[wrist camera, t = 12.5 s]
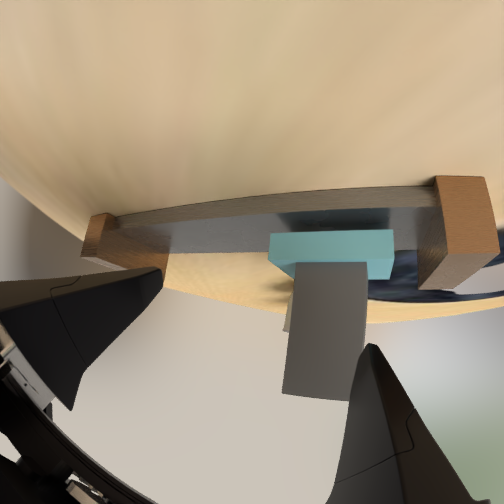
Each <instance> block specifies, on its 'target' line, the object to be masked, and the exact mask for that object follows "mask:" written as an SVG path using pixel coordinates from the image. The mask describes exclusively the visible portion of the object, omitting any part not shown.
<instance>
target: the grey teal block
mask: <svg viewBox="0 0 504 504" xmlns="http://www.w3.org/2000/svg"><path fill="white" fill-rule="evenodd" d="M268 260H269V261H270V262H272V263H273V264H274V265H276V266H277V267H278V268H280V269H281V270H282V271H284V272H285V273H286V274H288V275H289V276H290V277H292V278H293V279H294V290H293V301H292V311H291V320H290V330H289V339H288V348H287V356H286V364H285V371H284V379H283V386H282V393H283V394H289V395H296V396H303V397H311V398H319V399H329V400H340V401H349V399H350V392H351V387H352V383H353V379H354V375H355V370H356V366H357V362H358V359H359V356H360V354H361V353H362V351H363V350H364V340H365V328H366V316H367V297H368V279H389V278H390V274H391V270H392V266H393V262H394V238H393V229H388V230H349V231H318V232H292V233H271V236H270V246H269V255H268Z"/></svg>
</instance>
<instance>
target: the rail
mask: <svg viewBox="0 0 504 504" xmlns="http://www.w3.org/2000/svg"><path fill="white" fill-rule="evenodd" d="M388 229H393V238H394V250H417V262H418V290H423V289H453V288H454V287H456V286H457V285H459V284H460V283H462V282H463V281H465V280H466V279H467V278H469V277H470V276H471V275H473V274H474V273H475V272H477V271H478V270H479V269H481V268H482V267H483V266H485V265H486V264H487V263H488V262H490V261H491V260H492V259H493V258H495V257H496V256H497V255H498V254H499V253H500V248H499V241H498V235H497V229H496V224H495V219H494V214H493V209H492V205H491V201H490V197H489V193H488V189H487V185H486V182H485V178H484V177H462V176H436V177H435V181H434V185H433V186H410V187H375V188H354V189H337V190H322V191H309V192H297V193H285V194H275V195H265V196H256V197H247V198H238V199H230V200H222V201H214V202H207V203H199V204H192V205H186V206H179V207H172V208H166V209H160V210H154V211H148V212H142V213H136V214H131V215H125V216H120V217H114V216H112V215H110V214H108V213H105V214H101V215H97V216H92V217H91V218H90V222H89V225H88V229H87V232H86V236H85V240H84V243H83V247H82V251H81V255H80V257H81V258H83V259H86V260H89V261H92V262H94V263H97V264H100V265H103V266H105V267H108V268H111V269H114V270H117V271H120V270H128V269H135V268H143V267H150V266H155V267H158V268H160V269H161V270H162V275H163V282H164V278H165V273H166V267H167V262H168V257H169V253H231V252H269V246H270V236H271V233H292V232H318V231H349V230H388Z"/></svg>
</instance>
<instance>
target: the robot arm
mask: <svg viewBox="0 0 504 504" xmlns="http://www.w3.org/2000/svg"><path fill="white" fill-rule="evenodd" d="M162 287H163V275H162V270H161V269H160V268H158V267H155V266H150V267H143V268H135V269H128V270H120V271H112V272H105V273H97V274H89V275H83V276H72V277H63V278H50V279H34V280H18V281H4V282H3V281H1V282H0V432H1V433H3V434H5V435H6V436H7V437H8V439H9V440H10V441H11V443H12V444H13V446H14V447H15V448H16V449H17V451H18V452H19V453H20V455H21V457H20V458H19V460H18V461H17V462H16V463H15V462H13V461H11V460H9V459H7V458H6V457H4V456H2V455H1V454H0V504H157V503H156V502H155V501H153V500H151V499H149V498H148V497H146V496H144V495H143V494H141V493H139V492H138V491H136V490H135V489H133V488H131V487H130V486H129V485H127V484H126V483H124V482H123V481H121V480H120V479H118V478H117V477H116V476H114V475H113V474H112V473H110V472H109V471H107V470H106V469H105V468H104V467H102V466H101V465H100V464H98V463H97V462H96V461H95V460H94V459H92V458H91V457H90V456H89V455H88V454H86V453H85V452H84V451H83V450H82V449H81V448H80V447H79V446H77V445H76V444H75V443H74V442H73V441H72V440H71V439H70V438H69V437H68V436H67V435H66V434H64V433H63V431H62V430H61V429H60V428H59V427H58V426H57V425H56V424H55V423H54V422H53V419H52V403H51V401H52V400H53V399H54V397H56V398H57V399H58V400H59V401H61V403H62V404H63V405H64V406H66V407H67V409H69V410H70V411H72V409H73V406H74V402H75V398H76V394H77V391H78V387H79V384H80V381H81V378H82V375H83V373H84V372H85V370H86V369H87V367H89V366H90V365H91V364H92V363H93V362H94V361H95V360H96V358H98V357H99V356H100V355H101V353H102V352H103V351H104V350H105V349H106V348H107V347H108V346H109V345H110V344H111V343H112V342H113V341H114V340H115V339H116V338H117V337H118V336H119V335H120V334H121V333H122V332H123V331H124V330H125V329H126V328H127V327H128V326H129V325H130V324H131V323H132V322H133V321H134V320H135V319H136V318H137V317H138V316H139V315H140V314H141V313H142V312H143V311H144V310H145V309H146V308H147V307H148V305H149V304H150V303H151V301H152V300H153V299H154V298H155V297H156V295H157V294H158V293H159V292H160V290H161V289H162ZM71 474H74V475H75V476H77V477H78V478H79V480H80V481H81V482H83V483H85V484H86V485H88V486H89V487H87V486H85V485H83V484H82V483H80V482H77V481H75V480H72V479H71V480H69V479H68V478H69V477H70V475H71ZM91 490H92V491H94V492H96V493H98V494H99V495H96V494H94V493H92V492H91ZM326 504H491V502H490V500H489V499H485V500H481V501H475V500H474V499H472V497H471V496H470V494H469V493H468V491H467V489H466V488H465V486H464V485H463V483H462V481H461V480H460V478H459V477H458V475H457V473H456V472H455V470H454V469H453V467H452V466H451V464H450V462H449V461H448V459H447V458H446V456H445V455H444V453H443V452H442V450H441V449H440V447H439V446H438V444H437V443H436V441H435V440H434V438H433V437H432V435H431V434H430V432H429V430H428V429H427V427H426V426H425V424H424V422H423V421H422V419H421V417H420V416H419V414H418V412H417V410H416V409H414V406H413V404H412V402H411V400H410V398H409V397H408V395H407V393H406V391H405V390H404V388H403V386H402V385H401V383H400V381H399V380H398V378H397V376H396V375H395V373H394V371H393V370H392V368H391V366H390V365H389V363H388V361H387V360H386V358H385V357H384V355H383V353H382V352H381V350H380V348H379V347H378V346H377V345H375V344H371V343H368V344H367V345H366V347H365V348H364V350H363V351H362V353H361V354H360V356H359V359H358V362H357V366H356V370H355V375H354V379H353V383H352V387H351V392H350V399H349V407H348V414H347V421H346V427H345V433H344V439H343V444H342V450H341V455H340V460H339V464H338V469H337V474H336V478H335V482H334V486H333V489H332V492H331V495H330V497H329V498H328V500H327V502H326Z"/></svg>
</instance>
